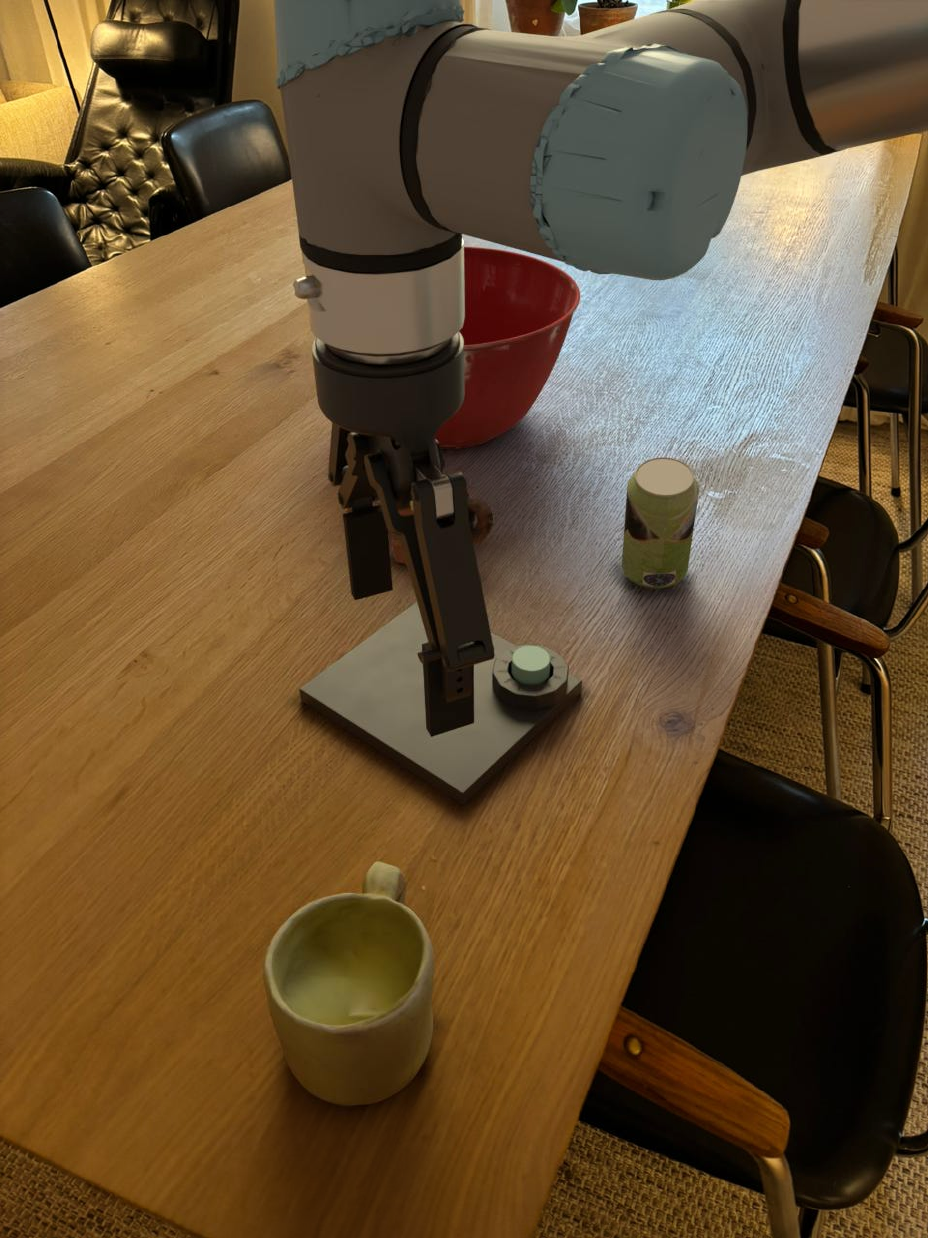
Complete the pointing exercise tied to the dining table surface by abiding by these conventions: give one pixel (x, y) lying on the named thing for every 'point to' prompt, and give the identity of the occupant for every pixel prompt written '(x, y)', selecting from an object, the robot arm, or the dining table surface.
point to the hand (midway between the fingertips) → (408, 654)
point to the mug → (353, 991)
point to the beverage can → (659, 522)
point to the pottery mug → (481, 528)
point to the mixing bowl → (507, 340)
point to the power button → (530, 665)
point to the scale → (395, 706)
